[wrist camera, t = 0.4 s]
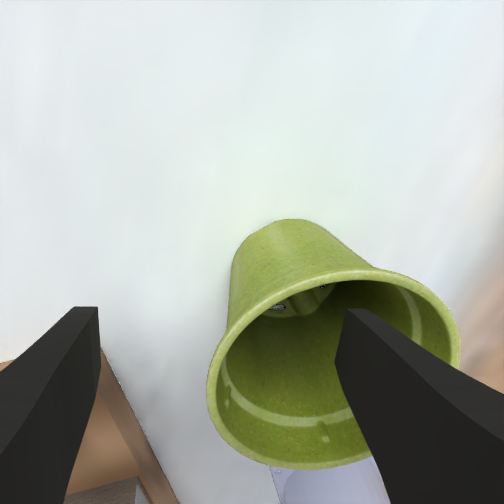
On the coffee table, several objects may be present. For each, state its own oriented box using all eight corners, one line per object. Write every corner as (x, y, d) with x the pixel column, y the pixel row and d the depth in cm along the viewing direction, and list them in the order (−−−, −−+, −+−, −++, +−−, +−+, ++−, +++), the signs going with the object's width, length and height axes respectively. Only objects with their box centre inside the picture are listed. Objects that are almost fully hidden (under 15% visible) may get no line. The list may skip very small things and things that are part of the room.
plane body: (188, 522, 31) (189, 611, 26) (110, 545, 31) (96, 638, 26) (95, 338, 23) (71, 417, 18) (-13, 366, 23) (-67, 454, 18)
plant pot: (336, 347, 26) (401, 477, 18) (184, 329, 23) (184, 468, 16) (394, 207, 22) (507, 294, 14) (220, 169, 20) (243, 248, 12)
